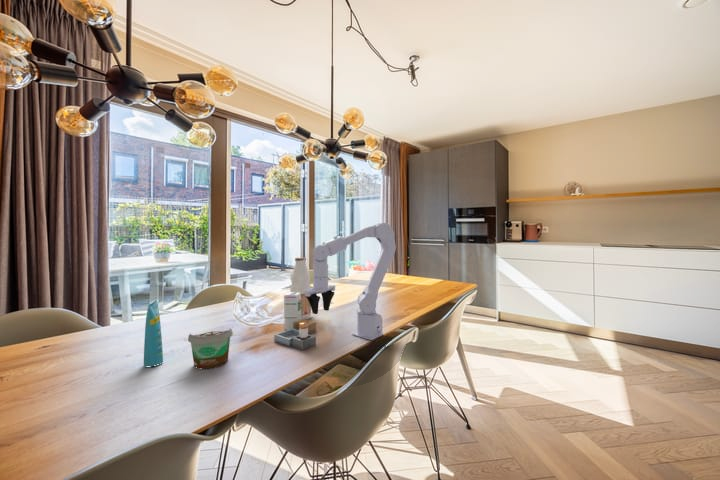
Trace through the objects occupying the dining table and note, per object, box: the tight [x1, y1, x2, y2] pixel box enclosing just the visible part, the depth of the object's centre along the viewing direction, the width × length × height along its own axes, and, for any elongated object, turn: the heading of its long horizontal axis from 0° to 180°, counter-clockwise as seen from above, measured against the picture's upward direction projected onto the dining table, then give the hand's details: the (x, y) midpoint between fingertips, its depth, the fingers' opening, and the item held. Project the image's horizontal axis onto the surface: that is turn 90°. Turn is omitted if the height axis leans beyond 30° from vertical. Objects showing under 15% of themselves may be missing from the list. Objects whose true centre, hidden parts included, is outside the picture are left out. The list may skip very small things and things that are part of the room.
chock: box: [293, 319, 317, 335], centre depth 120 cm, size 7×6×4 cm
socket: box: [290, 334, 317, 351], centre depth 105 cm, size 6×6×3 cm
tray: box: [273, 329, 299, 347], centre depth 110 cm, size 8×8×2 cm
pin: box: [299, 322, 308, 340], centre depth 105 cm, size 3×3×8 cm
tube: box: [143, 298, 164, 367], centre depth 90 cm, size 7×5×19 cm, turn 26°
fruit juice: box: [289, 257, 312, 320], centre depth 139 cm, size 9×9×28 cm
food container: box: [187, 327, 234, 370], centre depth 89 cm, size 12×6×10 cm, turn 117°
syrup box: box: [283, 291, 301, 331], centre depth 124 cm, size 6×6×14 cm
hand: (320, 311), depth 114 cm, fingers open, 5 cm apart
